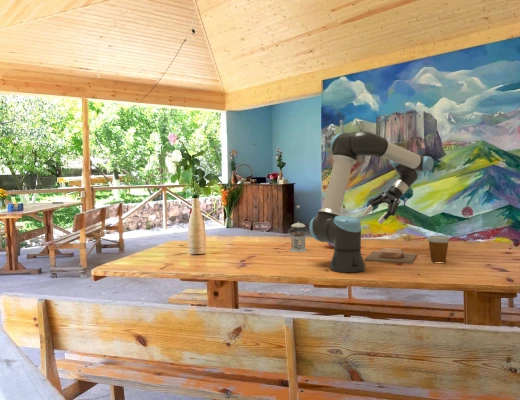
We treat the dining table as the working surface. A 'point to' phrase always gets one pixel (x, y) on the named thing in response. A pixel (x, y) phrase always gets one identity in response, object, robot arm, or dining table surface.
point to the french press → (297, 238)
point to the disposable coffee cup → (438, 248)
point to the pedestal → (391, 256)
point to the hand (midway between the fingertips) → (371, 218)
